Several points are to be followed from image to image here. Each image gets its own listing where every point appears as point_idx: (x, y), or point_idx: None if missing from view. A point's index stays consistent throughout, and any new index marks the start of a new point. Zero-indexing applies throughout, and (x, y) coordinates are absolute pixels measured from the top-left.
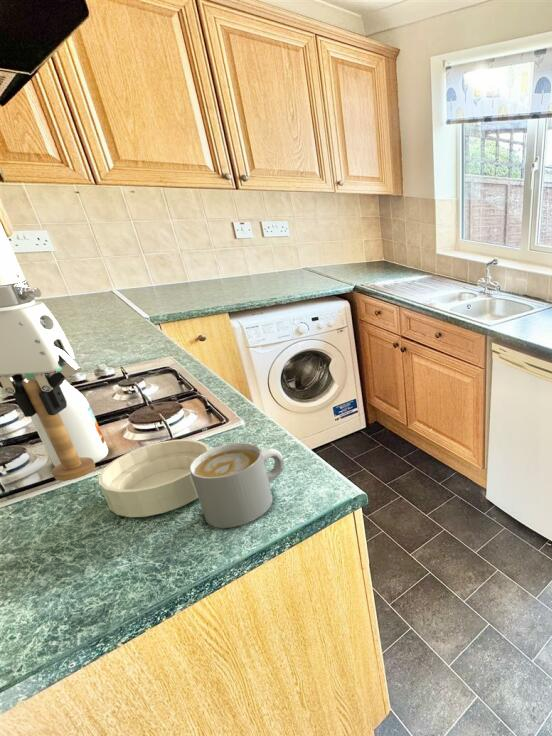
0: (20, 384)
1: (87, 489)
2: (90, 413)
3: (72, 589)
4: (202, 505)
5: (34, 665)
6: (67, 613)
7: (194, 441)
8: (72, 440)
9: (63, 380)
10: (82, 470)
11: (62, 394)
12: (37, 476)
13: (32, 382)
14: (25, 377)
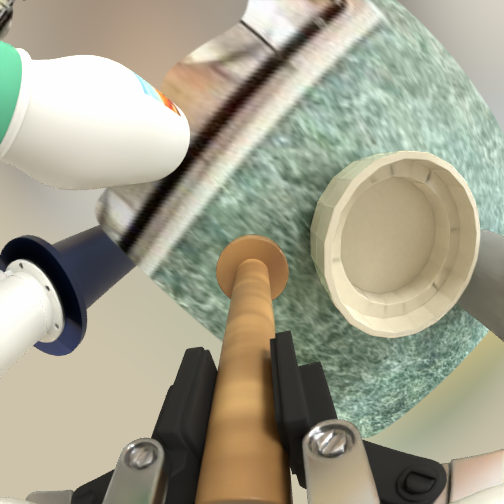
0: (179, 489)
1: (240, 233)
2: (150, 93)
3: (364, 395)
4: (473, 316)
5: (375, 434)
6: (374, 410)
7: (440, 164)
8: (155, 167)
9: (391, 454)
10: (284, 285)
11: (328, 393)
12: (119, 201)
13: None
14: (157, 489)
